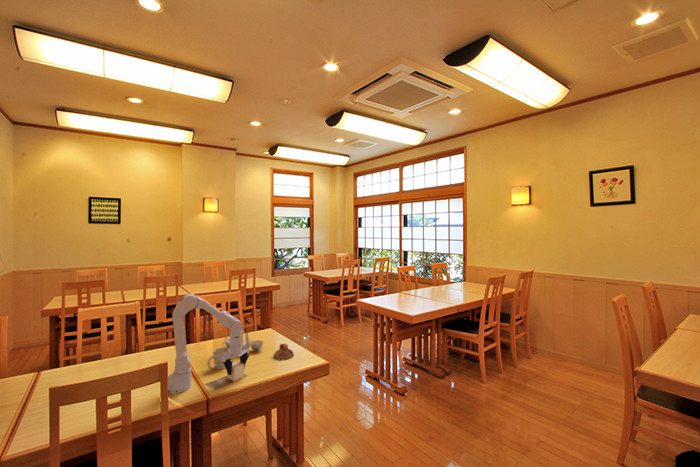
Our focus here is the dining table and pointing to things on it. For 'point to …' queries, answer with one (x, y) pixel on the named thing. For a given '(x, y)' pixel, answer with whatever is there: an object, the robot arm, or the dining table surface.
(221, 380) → the stand
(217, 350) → the mug
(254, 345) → the chinaware
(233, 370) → the tan rectangular block
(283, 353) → the bell
